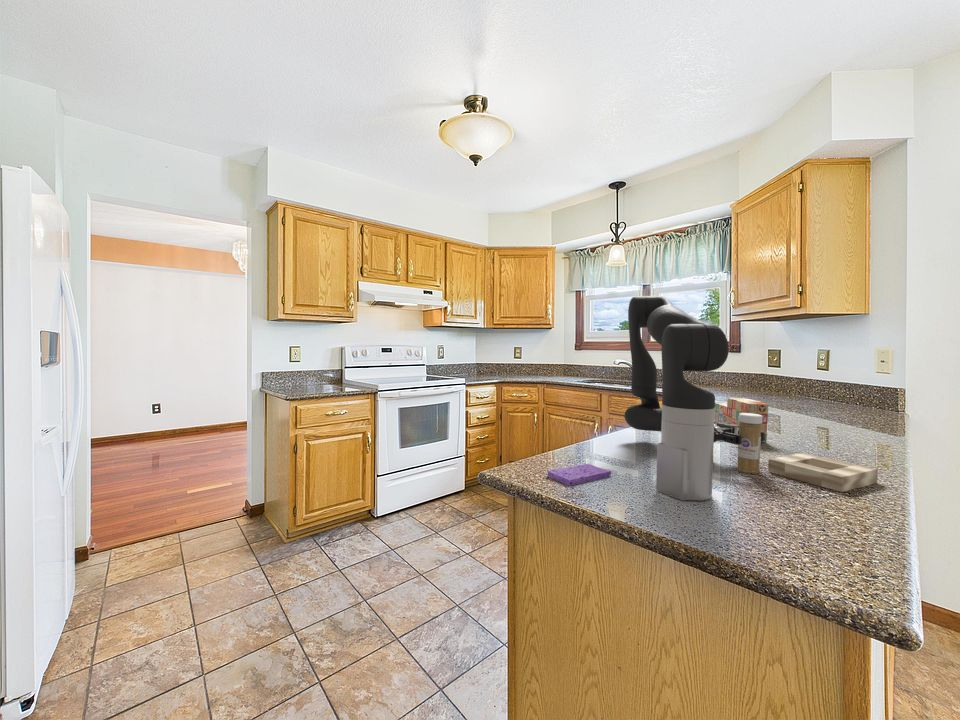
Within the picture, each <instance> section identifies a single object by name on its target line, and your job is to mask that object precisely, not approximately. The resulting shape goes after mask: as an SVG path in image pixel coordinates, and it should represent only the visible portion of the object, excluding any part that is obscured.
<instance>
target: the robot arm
mask: <svg viewBox="0 0 960 720" xmlns="http://www.w3.org/2000/svg"><path fill="white" fill-rule="evenodd" d="M627 311H628V312H627V313H628V314H627V316H628V317H627V319H628V320H627V322H628V334H629V347H630V348H629V349H630V356H631V358H630V359H631V386H630V388H631V394H632V395H633V396H634V397H636V398H640V401H641V402H640V404H634V405H631V406H629V407H627V409H626V410H625V411H624V420H625V422H626V423H627V424H628V426H630V427H631V428H632V429H635V430H639V431H651V432H660V433H661V434H660V436H661V437H660V442H659V443H657V448H656V476H655V477H656V481H655V482H656V484H655V487H656V488H655V490H656V491H658V492H661V493H663V494H665V495H666V496H667V495H668V496H671V497H673V498H675V499H677V500H681V501H698V502H699V501H708V500H711V498H712V497H713V474H714V473H713V467H714V444H715V443H716V442H719V443H728V444H733V445H737V446H738V445H740V444H741V443H742V436H741V435H739V425H735V424H730V423H728V424H724V423H717V424H716V423H715V403H716V395H715V394H714V393H713V392H711V391H709V390H707V389H703V388H702V387H701V388H700V387H698V386H696V385H694V384H692V383H690V382H689V381H688V380H686V377H684V372H714V371H715V370H718V369H720V368H721V367H722V366H723V365H725V363H726V362H727V359H728V356H729V350H730V348H729V341H728V338H727V336H726V334H725V332H724V330H722V328H721V327H719V326H718V325H716V324H713V323H708V322H704V321H702V320H699V319H697V318H695V317H694V316H693V315H690V314H688V313H687V312H686V311H684V310H682V309H680V308H678V307H676V306H675V305H674V304H672V302H671V301H670V300H669V298H667V297H666V296H663V295H639V296H637V295H636V296H632V297H631V298H630V301H629V303H628V309H627ZM641 328H645V329H646V328H647V332H648V333H649V336H651V338H652V339H654V341H655V342H656V343H657V344H659V345H661V369H662V370H661V375H662V376H661V379H662V380H661V381H662V382H661V392H662V393H661V395H662V397H661V398H662V399H661V400H662V401H661V402H662V403H661V404H660V402H659V401H660V400H659V397H658V393H657V385H658V383H657V382H658V381H657V380H658V378H657V377H658V370H657V365H656V363H655V361H654V359H653V358H652V356H651V353H650V352H649V351H648V349H647V348H646V345H645V344H644V342H643V340H642V339H643V338H642V335H641V334H642V333H641ZM762 441H765V433H764V432H761V442H762Z"/></svg>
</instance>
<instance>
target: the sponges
mask: <svg viewBox="0 0 960 720" xmlns="http://www.w3.org/2000/svg"><path fill="white" fill-rule="evenodd" d="M611 475H612V470H609V469H606V468H602V467H598V466H596V465H593V464H589V463H588V462H587V463H582V464H577V465H573V466H566V467H560V468H556V469H555V468H554V469H548V470H547V478H550V479H552V480H554V481H558V482H560V483H562V484H565V485H567V486H575V485H577V484H582V483H587V482H592V481H597V480H602V479H606V478H609V477H610V476H611Z"/></svg>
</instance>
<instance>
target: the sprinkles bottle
mask: <svg viewBox="0 0 960 720" xmlns="http://www.w3.org/2000/svg"><path fill="white" fill-rule="evenodd" d="M761 425H762V415H759V414H753V413H740V414H739V435H741V436H742V443H741V444H740V445H737V466H736V469H737V470H738V471H739V472H741V471H742V473H745V474H751V473H752V474H760V473H761V471H760V466H761V463H760V462H761V444H762V443H761Z"/></svg>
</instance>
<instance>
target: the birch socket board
mask: <svg viewBox="0 0 960 720" xmlns="http://www.w3.org/2000/svg"><path fill="white" fill-rule="evenodd" d="M767 464H768V465H767V472H768V471H769V472H768V473H771V472H772V474H775V473H777V474H776V475H778V474H780V475H779V476H782V475H784V476H783V477H786V476H787V478H790V479H793V480H797V481H801V482H804V483H807V484H808V483H809V484H811V485H815V486H819V487H823V488H826V489H829V490H833V491H838V492H840V493H844V492H847V491H851V490H854V489H855V490H856V489H858V488H859V489H860V488H862V487H866V486H867V487H868V486H871V485H874V484H877V483H878V476H879V475H878V473H879V471H878V470H879V469H877V468H873V467H870V466H866V465H861V464H857V463H851V462H846V461H842V460H839V459H837V460H836V459H833V458H829V457H823V456H818V455H814V454H810V453H806V452H803V453H795V454H790V455H784V456H779V457H773V458H772V457H771V458H768V463H767Z"/></svg>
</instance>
